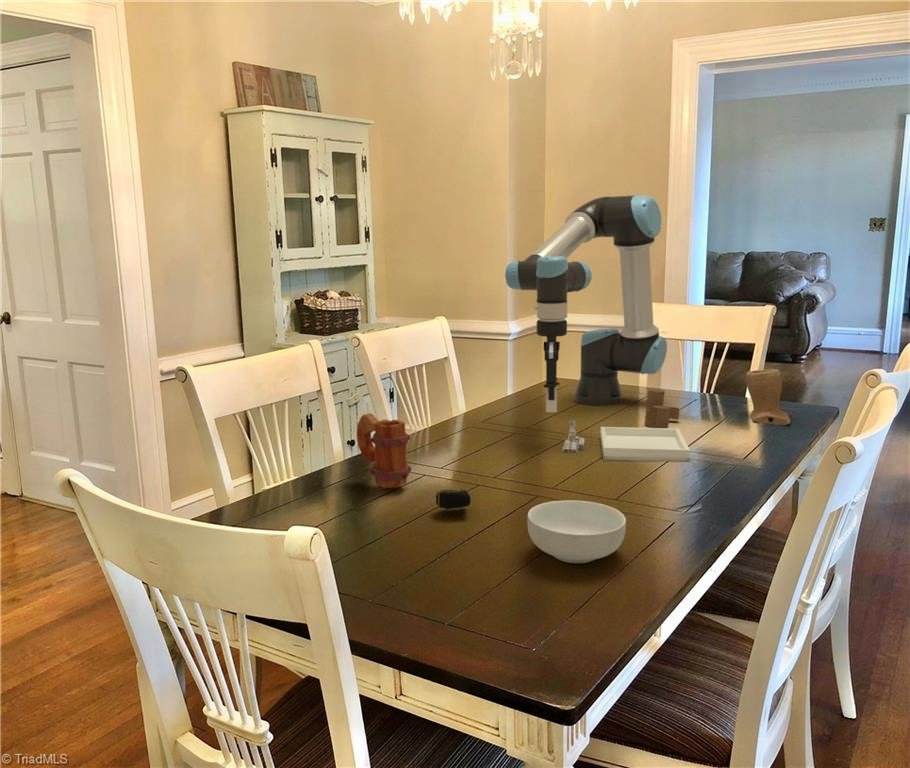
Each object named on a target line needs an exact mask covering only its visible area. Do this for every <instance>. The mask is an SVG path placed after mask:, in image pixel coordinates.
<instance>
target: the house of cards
mask: <svg viewBox="0 0 910 768" xmlns="http://www.w3.org/2000/svg"><path fill="white" fill-rule="evenodd" d="M568 427H569V433H568V437H567V439H565V441H564V443H563V446H562V452H563V453H578V450H579V451H580V450H581V451H584V450H585V443H586V442H585V437H579V436H577V431H576V420H573V419H572V420H569V426H568Z"/></svg>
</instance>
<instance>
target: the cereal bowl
mask: <svg viewBox="0 0 910 768" xmlns="http://www.w3.org/2000/svg"><path fill="white" fill-rule="evenodd" d="M526 521H527V522H526V523H527V530H528V532H527V533H528V534H529V537H530V540H531V541H532V542H533V544H534V545H535V546H536V547H538V548H539V549H540V550H541V551H543V552H544V553H546V554H547V555H551V556H553V558H555V559H557V560H559V561H561V562H565V563H570V564H586V563H591V562H593V561H595V560H599V559H602V558H605V557H608V556H609V555H611V554H612V553H614V552H616V550H618V549H619V547H620V546H621V545H622V544H623V541H624V539H625V536H626V530H627V518H626V517H625V515H624V514H623V513H622V512H621V511H619V510H618V509H616V508H614V507H611V506H609V505H606V504H603V503H600V502H594V501H587V500H574V499H573V500H571V499H570V500H569V499H568V500H553V501H548V502H547V501H546V502H544V503H540V504H538V505H535V506H533V507H531V508H530V509H529V510H528V512H527V519H526Z"/></svg>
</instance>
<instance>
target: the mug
mask: <svg viewBox="0 0 910 768" xmlns="http://www.w3.org/2000/svg"><path fill="white" fill-rule="evenodd" d="M372 432H374V433H373V435H372ZM356 438H357V439H356V440H357V443H358V449H359V451H360V453H361V456H362V458H363V459H364V460H365V462H366V463H368V464H369V463H373V462H374V464H373V466H372V468H371V469H370V470H369V473H370V474H371V475H372V476H373V478H374V482H375V484H376V485H377V486H379V487H381V488H384V489H395V488H399V487H401V486H403V485H405V484H406V483H407V480H408V477H409V476H410V475H409V474H410V472H411V471H412V467H411V466H409V464H408V463H407V451H408V450H407V444H408V441H409V440H411V436H410V435H409V434H408V433H407V432H406V424H405V421H402V420H400V419H391V420H389V419H381V420H379V419H377V417H376V416H375V415H374V414H373V413H370V412H369V413H366V414H363V415H361V417H360V419H359V421H358V423H357V427H356Z"/></svg>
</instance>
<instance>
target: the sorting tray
mask: <svg viewBox="0 0 910 768" xmlns="http://www.w3.org/2000/svg"><path fill="white" fill-rule="evenodd" d="M600 444H601V451H602V459H603V460H604V461H630V462H631V461H632V462H637V461H639V462H690V457H691V450H690V447H689V446H688V444H687V441H686V440H685V437H684V436H683V434H682V432H681V430H680V429H679V428H670V427H668V428H651V427H627V426H626V427H624V426H623V427H620V426H619V427H618V426H600Z"/></svg>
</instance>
